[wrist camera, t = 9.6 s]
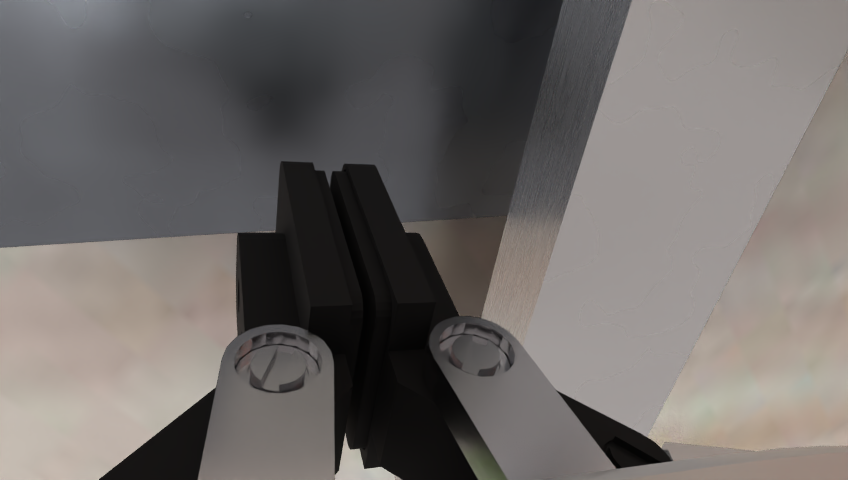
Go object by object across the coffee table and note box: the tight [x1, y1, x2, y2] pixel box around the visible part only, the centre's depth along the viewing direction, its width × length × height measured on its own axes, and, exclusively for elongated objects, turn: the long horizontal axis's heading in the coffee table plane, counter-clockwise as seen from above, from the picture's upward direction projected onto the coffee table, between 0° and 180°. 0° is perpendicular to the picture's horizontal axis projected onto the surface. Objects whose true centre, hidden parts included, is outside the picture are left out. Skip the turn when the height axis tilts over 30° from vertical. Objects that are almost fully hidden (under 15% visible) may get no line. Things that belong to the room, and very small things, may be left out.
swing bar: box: [481, 0, 848, 437], centre depth 12 cm, size 21×4×2 cm, turn 171°
